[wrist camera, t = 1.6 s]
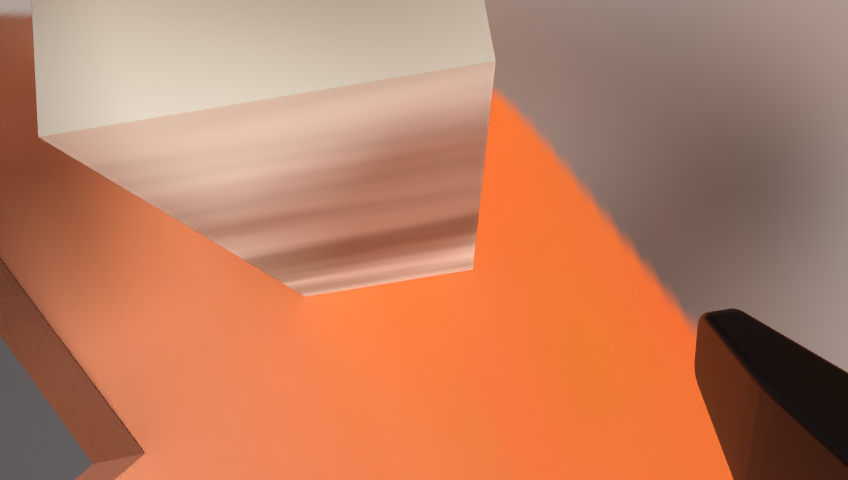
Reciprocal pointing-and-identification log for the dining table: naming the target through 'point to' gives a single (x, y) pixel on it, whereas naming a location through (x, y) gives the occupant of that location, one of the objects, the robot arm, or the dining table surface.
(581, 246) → the dining table surface
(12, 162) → the dining table surface
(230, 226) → the square peg
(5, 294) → the grey flat frame
